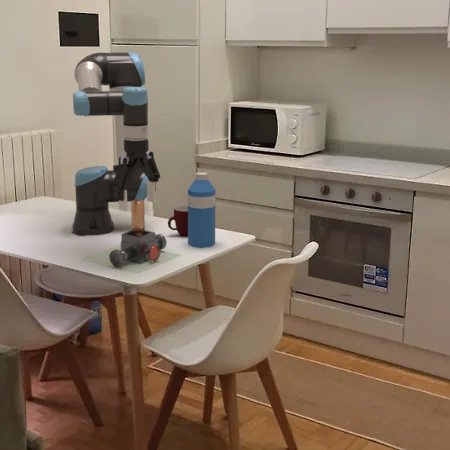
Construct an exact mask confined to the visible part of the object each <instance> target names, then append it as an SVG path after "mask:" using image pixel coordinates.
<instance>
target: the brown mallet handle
mask: <svg viewBox="0 0 450 450" xmlns="http://www.w3.org/2000/svg"><path fill="white" fill-rule="evenodd" d="M130 205H131V207H130V208H131V211H130V212H131V231H132V235H134V236H139V237H140V236H143V235H145V230H146V228H145V227H146V226H145V200H132V201H131V202H130Z"/></svg>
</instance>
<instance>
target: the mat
mask: <svg viewBox="0 0 450 450" xmlns="http://www.w3.org/2000/svg"><path fill="white" fill-rule="evenodd" d="M113 250H120V251H121V244H119V245H116V246H113V247H111V248H108V249H106V250H102V251H99V252H97V253H94V254H91V255H89V256H86V257H85V256H84V257H83V258H81V259H80V260H82V261H85V262H90V263H93V264H98V265H102V266H107V267H110V268H111V267H112V268H115V269H118V270H123V271H126V272H127V271H128V272H131V273H135V274H141V273H144V272H145V271H148V270H151V269H153V268H155V267H157V266H159V265H162V264H164V263H166V262H169V261H172V260H174V259H176V258H178V257H181V256H182V254H179V253H174V252H171V251H170V252H169V251H165V250H163V249H162V250H160V251H161V252H160V257H159V258H158V260H157V261H151V260H150V261H147V262H145V263H142V264H138V263H133V262H129V261H124V263H123V265H121V266H119V267H116V266H114V265H112V263H111V262H110V259H109V255H110V252H111V251H113Z"/></svg>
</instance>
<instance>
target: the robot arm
mask: <svg viewBox="0 0 450 450" xmlns="http://www.w3.org/2000/svg"><path fill="white" fill-rule="evenodd" d="M145 75H146V74H145V67H144V62H143V59H142V57H141V55H140V54H139V53H137V52H128V51H126V52H95V53H91V54H89V55H87V56H85V57H83V58H82V59H81V60H80V61H79V62H78V63H77V64H76V66H75V68H74V79H75V82H76V83H77V86H78V91H74V92H73V93H72V101H73V102H72V103H73V114H74V115H75V116H78V117H81V116H83V117H95V116H96V117H97V116H98V117H100V116H101V117H102V116H104V117H105V116H114V125H115V146H116V147H115V148H116V149H115V150H116V161H115V162H114V163H113V164H112V170H110V169H109V170H108V167H107V166H104V165H101V166H100V165H95V166H90V167H89V166H88V167H86V168H81V169H80V170H78V171H76V172H75V175H74V187H75V207H76V209H75V211H76V212H75V215H74V218H73V223H72V226H71V229H72V233H73V234H75V235H79V236H102V235H106V234H111V233H112V232H114V231H115V224H114V221H113V219H112V215H111V213H110V209H109V205H110V204H109V203H118V211H123V212H128V202H130V203H131V201H132V200H144V201H145V200H146V199H147V200H146V201H147V202H150V203H155V202H156V189H157V188H156V187H157V186H156V184H157V183H158V182H159V179H161V174H160V171H159V168H158V166H157V163H156V160H155V158H154V156H155V155H154V151H150V150H149V149H150V147H149V139H148V138H149V122H148V120H149V118H148V117H149V115H148V114H149V112H148V111H149V108H148V107H149V106H148V104H149V97H148V89H147V88H146V87H142V86H145V85H146V76H145ZM102 86H109V87H108V88H109V90H106V91H105V90H103V88H102Z"/></svg>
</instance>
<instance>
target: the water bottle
mask: <svg viewBox="0 0 450 450" xmlns="http://www.w3.org/2000/svg"><path fill="white" fill-rule="evenodd" d="M187 206H188V237H187V244H188V245H189V246H191V247H192V248H200V249H203V248H204V249H205V248H211V247H213V246H215V244H216V188H215V186H214V185H213V184H212V183H211V181H210V180H209V174H208V173H207V172H196V173H195V179H194V181H193V182H192V183H191V185H190V186H189V188H188V189H187Z"/></svg>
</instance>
